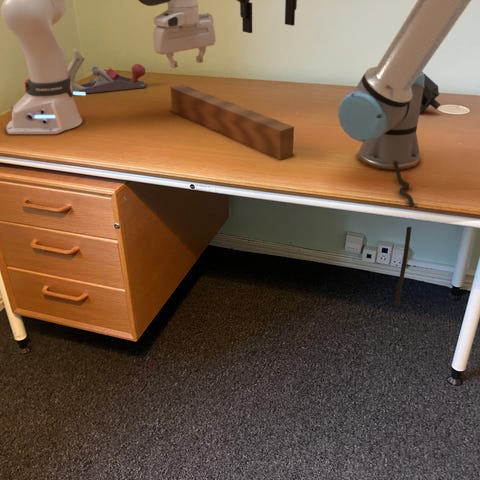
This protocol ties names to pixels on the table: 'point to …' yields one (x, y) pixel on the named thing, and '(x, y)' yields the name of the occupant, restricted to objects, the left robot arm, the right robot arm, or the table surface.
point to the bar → (234, 121)
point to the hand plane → (104, 77)
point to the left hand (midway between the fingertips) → (187, 64)
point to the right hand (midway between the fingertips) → (269, 28)
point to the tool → (429, 94)
